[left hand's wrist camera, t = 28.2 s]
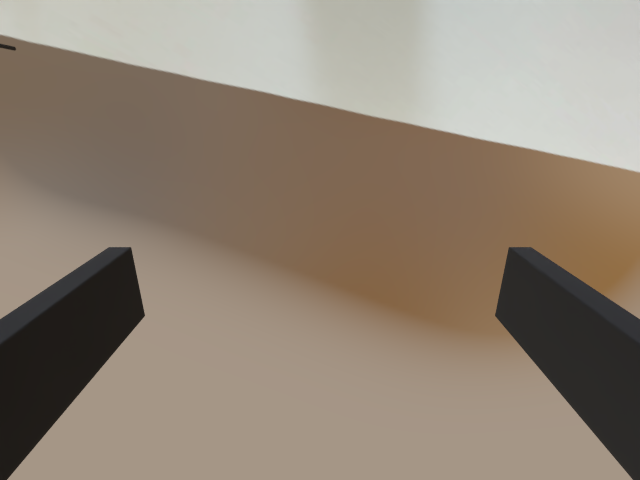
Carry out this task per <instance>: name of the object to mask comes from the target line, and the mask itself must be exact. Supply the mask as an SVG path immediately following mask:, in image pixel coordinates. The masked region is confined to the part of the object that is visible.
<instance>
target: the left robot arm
mask: <svg viewBox="0 0 640 480" xmlns="http://www.w3.org/2000/svg"><path fill="white" fill-rule="evenodd" d="M0 48H4V49H9V50H14V51H15V50H16V48H15V47H14V46H9V45H4V44H0ZM144 316H145V314H144V309H143V304H142V299H141V294H140V289H139V284H138V279H137V275H136V270H135V265H134V260H133V255H132V250H131V247H109V248H107V249H106V250H104V251H103V252H101V253H100V254H98V255H97V256H95V257H94V258H92V259H91V260H89V261H88V262H86V263H85V264H83V265H82V266H80V267H79V268H77V269H76V270H74V271H73V272H71V273H70V274H68V275H67V276H65V277H63V278H62V279H60V280H59V281H57V282H56V283H55V284H53V285H51V286H50V287H48V288H47V289H45V290H44V291H42V292H41V293H39V294H38V295H36V296H35V297H33V298H32V299H30V300H29V301H27V302H26V303H24V304H23V305H21V306H20V307H18V308H17V309H15V310H14V311H12V312H11V313H9V314H8V315H6V316H5V317H3V318H2V319H0V480H7V479H8V478H9V477H10V475H11V474H12V473H13V472H14V471H15V469H16V468H17V467H18V466H19V465H20V464H21V462H22V461H23V460H24V459H25V457H26V456H27V455H28V454H29V453H30V452H31V450H32V449H33V448H34V447H35V446H36V444H37V443H38V442H39V441H40V440H41V439H42V437H43V436H44V435H45V434H46V433H47V431H48V430H49V429H50V428H51V427H52V425H53V424H54V423H55V422H56V421H57V420H58V418H59V417H60V416H61V415H62V414H63V412H64V411H65V410H66V409H67V408H68V406H69V405H70V404H71V403H72V402H73V400H74V399H75V398H76V397H77V396H78V395H79V393H80V392H81V391H82V390H83V389H84V387H85V386H86V385H87V384H88V383H89V382H90V380H91V379H92V378H93V377H94V376H95V374H96V373H97V372H98V371H99V370H100V368H101V367H102V366H103V365H104V364H105V362H106V361H107V360H108V359H109V358H110V357H111V355H112V354H113V353H114V352H115V351H116V349H117V348H118V347H119V346H120V345H121V343H122V342H123V341H124V340H125V339H126V338H127V336H128V335H129V334H130V333H131V332H132V330H133V329H134V328H135V327H136V326H137V324H138V323H139V322H140V321H141V320H142V319H143V317H144ZM495 316H496V317H497V319H498V320H499V321H500V322H501V323H502V324H503V326H504V327H505V328H506V329H507V330H508V332H509V333H510V334H511V335H512V336H513V337H514V339H515V340H516V341H517V342H518V343H519V345H520V346H521V347H522V348H523V349H524V351H525V352H526V353H527V354H528V355H529V357H530V358H531V359H532V360H533V361H534V362H535V364H536V365H537V366H538V367H539V368H540V370H541V371H542V372H543V373H544V374H545V376H546V377H547V378H548V379H549V380H550V382H551V383H552V384H553V385H554V386H555V387H556V389H557V390H558V391H559V392H560V393H561V395H562V396H563V397H564V398H565V399H566V401H567V402H568V403H569V404H570V405H571V406H572V408H573V409H574V410H575V411H576V412H577V414H578V415H579V416H580V417H581V418H582V420H583V421H584V422H585V423H586V424H587V425H588V427H589V428H590V429H591V430H592V431H593V433H594V434H595V435H596V436H597V437H598V438H599V440H600V441H601V442H602V443H603V444H604V446H605V447H606V448H607V449H608V450H609V452H610V453H611V454H612V455H613V456H614V458H615V459H616V460H617V461H618V462H619V463H620V465H621V466H622V467H623V468H624V469H625V471H626V472H627V473H628V474H629V475H630V476H631V478H632V479H633V480H640V319H638V318H637V317H635V316H634V315H632V314H631V313H629V312H628V311H626V310H625V309H623V308H622V307H620V306H619V305H617V304H616V303H614V302H613V301H611V300H610V299H608V298H607V297H605V296H604V295H602V294H601V293H599V292H598V291H596V290H595V289H593V288H592V287H590V286H589V285H587V284H586V283H584V282H583V281H581V280H579V279H578V278H577V277H575V276H573V275H572V274H570V273H569V272H567V271H566V270H564V269H563V268H561V267H560V266H558V265H557V264H555V263H554V262H552V261H551V260H549V259H548V258H546V257H545V256H543V255H542V254H540V253H539V252H537V251H536V250H534V249H533V248H531V247H509V250H508V255H507V260H506V265H505V270H504V274H503V279H502V284H501V289H500V294H499V299H498V304H497V309H496V314H495Z"/></svg>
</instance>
